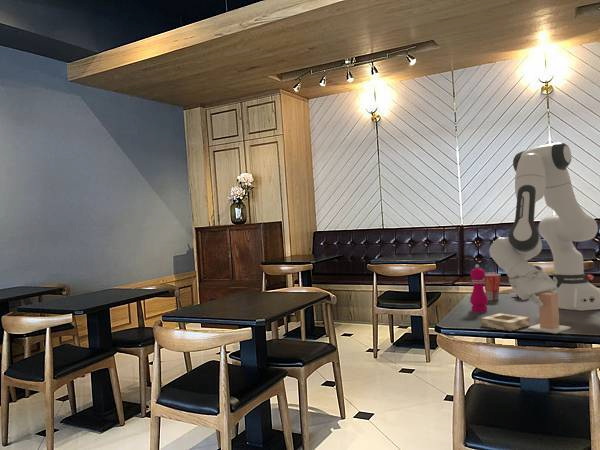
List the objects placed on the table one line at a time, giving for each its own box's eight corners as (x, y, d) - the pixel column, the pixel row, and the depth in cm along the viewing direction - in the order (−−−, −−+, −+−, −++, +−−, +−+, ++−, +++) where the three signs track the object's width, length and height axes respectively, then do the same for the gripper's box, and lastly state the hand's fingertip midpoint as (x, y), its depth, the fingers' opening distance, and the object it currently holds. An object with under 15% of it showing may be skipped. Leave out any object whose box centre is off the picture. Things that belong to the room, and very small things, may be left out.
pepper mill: (489, 312, 208) (487, 265, 208) (471, 312, 210) (469, 265, 210) (486, 308, 216) (484, 263, 215) (469, 309, 217) (467, 263, 217)
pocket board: (500, 320, 192) (500, 313, 192) (529, 325, 182) (529, 317, 182) (481, 326, 185) (481, 318, 185) (510, 331, 175) (510, 322, 175)
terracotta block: (546, 324, 179) (545, 292, 179) (559, 326, 175) (557, 293, 175) (540, 327, 176) (538, 293, 176) (552, 329, 173) (550, 295, 173)
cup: (500, 297, 240) (499, 272, 240) (503, 300, 232) (502, 275, 231) (480, 297, 242) (479, 273, 242) (482, 301, 234) (481, 275, 233)
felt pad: (543, 324, 183) (543, 322, 183) (570, 328, 175) (570, 326, 175) (528, 328, 177) (528, 327, 177) (555, 333, 169) (555, 331, 169)
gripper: (511, 272, 175) (539, 302, 167) (543, 266, 187) (570, 294, 179) (501, 283, 179) (527, 314, 171) (532, 277, 191) (559, 305, 183)
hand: (550, 303), depth 175 cm, fingers open, 8 cm apart
